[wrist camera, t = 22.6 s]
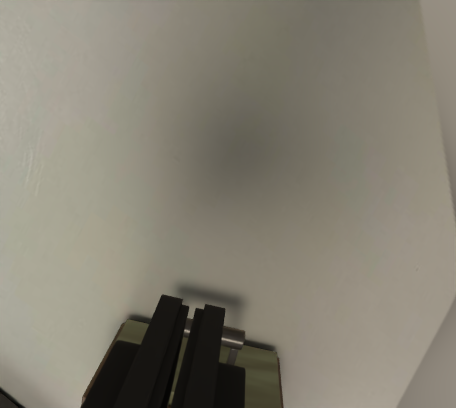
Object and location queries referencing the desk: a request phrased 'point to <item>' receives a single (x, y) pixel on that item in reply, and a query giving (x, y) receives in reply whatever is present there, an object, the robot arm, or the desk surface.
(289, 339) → the desk surface
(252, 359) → the drawer
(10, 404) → the media streaming box
